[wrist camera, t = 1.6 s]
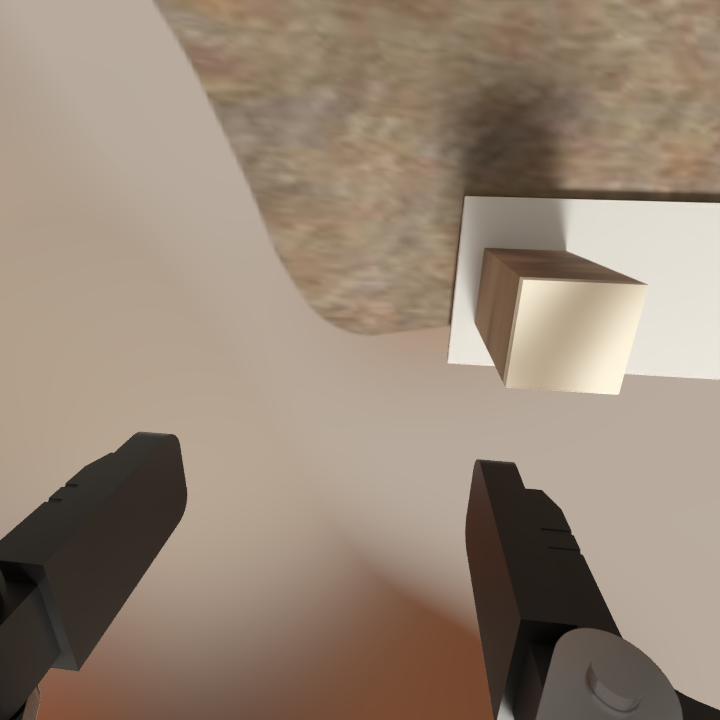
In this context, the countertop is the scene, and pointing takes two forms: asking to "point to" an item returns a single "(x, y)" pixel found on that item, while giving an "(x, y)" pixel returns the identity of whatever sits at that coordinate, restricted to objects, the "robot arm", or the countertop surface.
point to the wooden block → (557, 320)
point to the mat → (617, 252)
